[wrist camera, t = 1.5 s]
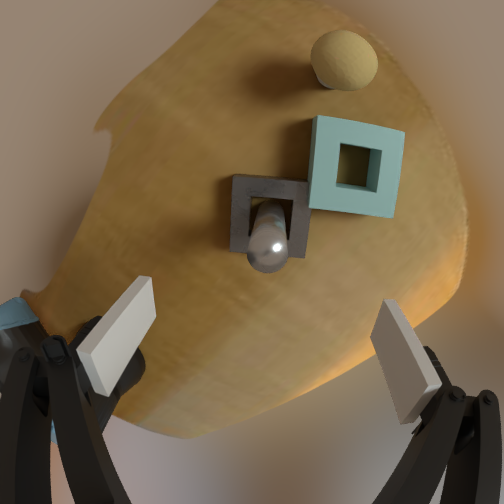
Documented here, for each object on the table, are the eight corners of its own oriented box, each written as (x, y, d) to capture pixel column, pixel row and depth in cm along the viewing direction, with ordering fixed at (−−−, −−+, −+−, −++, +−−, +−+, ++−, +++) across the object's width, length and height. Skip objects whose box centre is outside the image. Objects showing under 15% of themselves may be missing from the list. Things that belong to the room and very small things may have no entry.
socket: (305, 200, 33) (308, 207, 29) (312, 118, 29) (317, 115, 25) (381, 209, 32) (392, 218, 29) (391, 132, 28) (404, 132, 25)
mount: (232, 244, 36) (229, 251, 33) (235, 173, 32) (232, 176, 30) (302, 250, 35) (304, 258, 33) (311, 180, 32) (314, 183, 29)
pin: (256, 224, 34) (245, 271, 22) (258, 199, 33) (248, 233, 21) (282, 226, 34) (285, 274, 22) (285, 201, 33) (290, 237, 21)
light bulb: (366, 79, 26) (399, 60, 17) (332, 110, 28) (355, 98, 19) (328, 43, 25) (347, 10, 16) (292, 73, 27) (299, 46, 18)
